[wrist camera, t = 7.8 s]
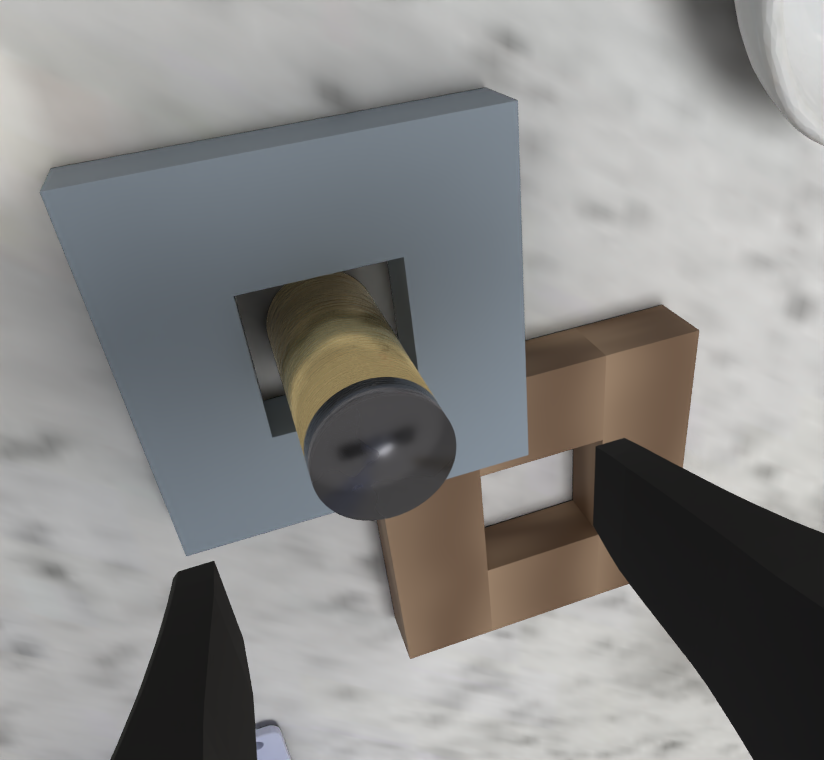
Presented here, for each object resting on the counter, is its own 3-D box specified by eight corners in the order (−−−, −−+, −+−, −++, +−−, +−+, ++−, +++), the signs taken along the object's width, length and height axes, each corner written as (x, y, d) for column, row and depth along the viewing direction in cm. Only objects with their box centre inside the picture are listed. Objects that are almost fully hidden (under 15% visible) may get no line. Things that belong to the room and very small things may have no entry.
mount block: (395, 618, 28) (410, 659, 26) (351, 386, 22) (367, 420, 21) (642, 536, 30) (670, 569, 29) (662, 304, 24) (699, 330, 23)
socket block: (183, 512, 23) (186, 556, 21) (50, 168, 17) (39, 192, 15) (503, 421, 25) (528, 454, 23) (486, 87, 19) (517, 100, 17)
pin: (284, 382, 21) (331, 539, 16) (252, 289, 20) (291, 426, 14) (384, 350, 22) (466, 491, 16) (361, 255, 20) (444, 375, 14)
